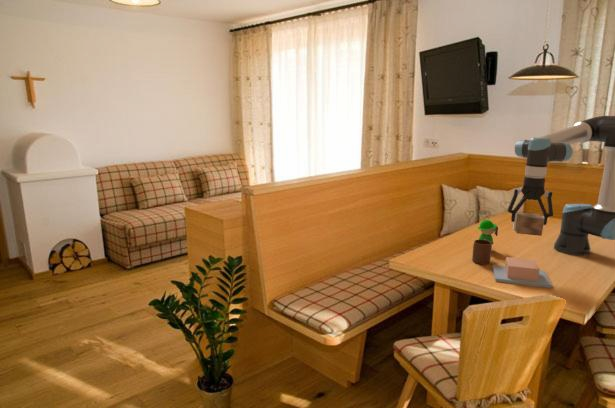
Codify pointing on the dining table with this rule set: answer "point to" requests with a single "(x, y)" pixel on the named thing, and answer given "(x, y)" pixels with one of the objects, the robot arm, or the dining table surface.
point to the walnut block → (529, 223)
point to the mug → (482, 251)
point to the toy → (487, 230)
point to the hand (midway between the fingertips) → (527, 230)
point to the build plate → (519, 281)
